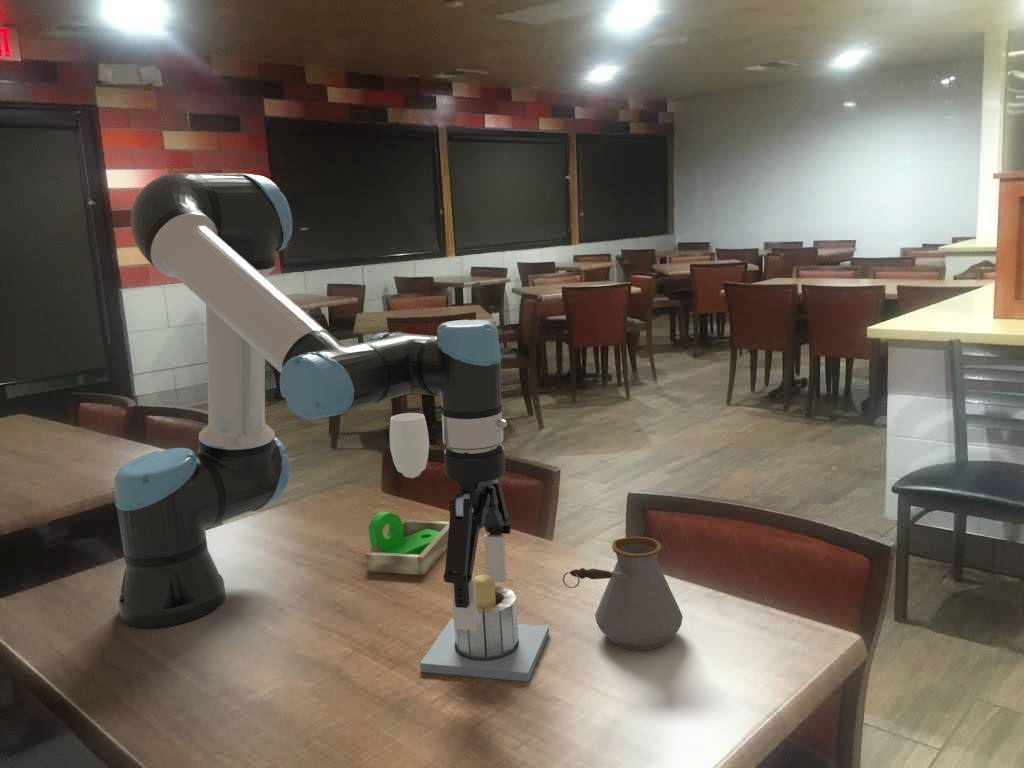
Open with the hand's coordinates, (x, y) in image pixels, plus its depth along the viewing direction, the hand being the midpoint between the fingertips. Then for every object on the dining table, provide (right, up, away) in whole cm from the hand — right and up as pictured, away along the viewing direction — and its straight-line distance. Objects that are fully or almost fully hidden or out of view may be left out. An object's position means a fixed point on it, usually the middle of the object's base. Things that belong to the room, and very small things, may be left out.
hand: (482, 603), depth 109 cm
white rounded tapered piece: (-14, +2, +50) cm, 52 cm away
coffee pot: (+18, -6, 0) cm, 19 cm away
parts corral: (-13, -1, +35) cm, 38 cm away
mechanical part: (-13, -1, +35) cm, 38 cm away
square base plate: (+1, -7, +1) cm, 7 cm away
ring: (+1, -5, +1) cm, 5 cm away
